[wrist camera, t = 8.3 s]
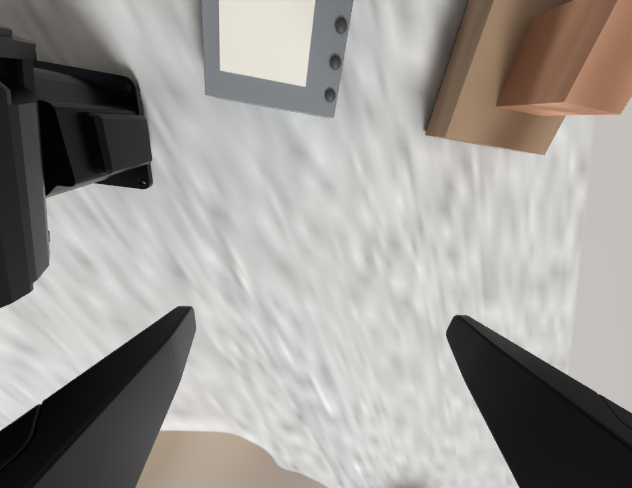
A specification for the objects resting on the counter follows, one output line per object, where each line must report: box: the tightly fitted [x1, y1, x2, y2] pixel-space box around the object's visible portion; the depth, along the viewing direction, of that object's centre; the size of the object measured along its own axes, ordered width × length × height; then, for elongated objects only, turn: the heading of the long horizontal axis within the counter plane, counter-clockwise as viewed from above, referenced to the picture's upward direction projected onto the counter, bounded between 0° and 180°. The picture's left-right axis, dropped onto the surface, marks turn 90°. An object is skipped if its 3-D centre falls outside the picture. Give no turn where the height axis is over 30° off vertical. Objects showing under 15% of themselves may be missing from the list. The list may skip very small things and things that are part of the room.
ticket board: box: [201, 0, 353, 118], centre depth 13 cm, size 7×8×3 cm
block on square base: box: [425, 0, 632, 155], centre depth 13 cm, size 7×8×6 cm
